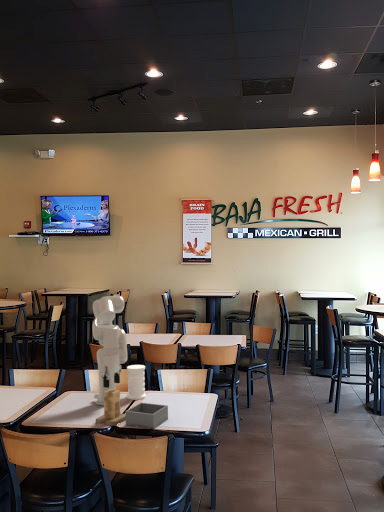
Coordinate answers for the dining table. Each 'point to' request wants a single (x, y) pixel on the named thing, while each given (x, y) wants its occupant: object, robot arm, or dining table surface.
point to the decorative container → (136, 382)
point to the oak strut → (112, 404)
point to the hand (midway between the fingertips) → (111, 385)
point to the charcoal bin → (147, 415)
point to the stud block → (111, 420)
